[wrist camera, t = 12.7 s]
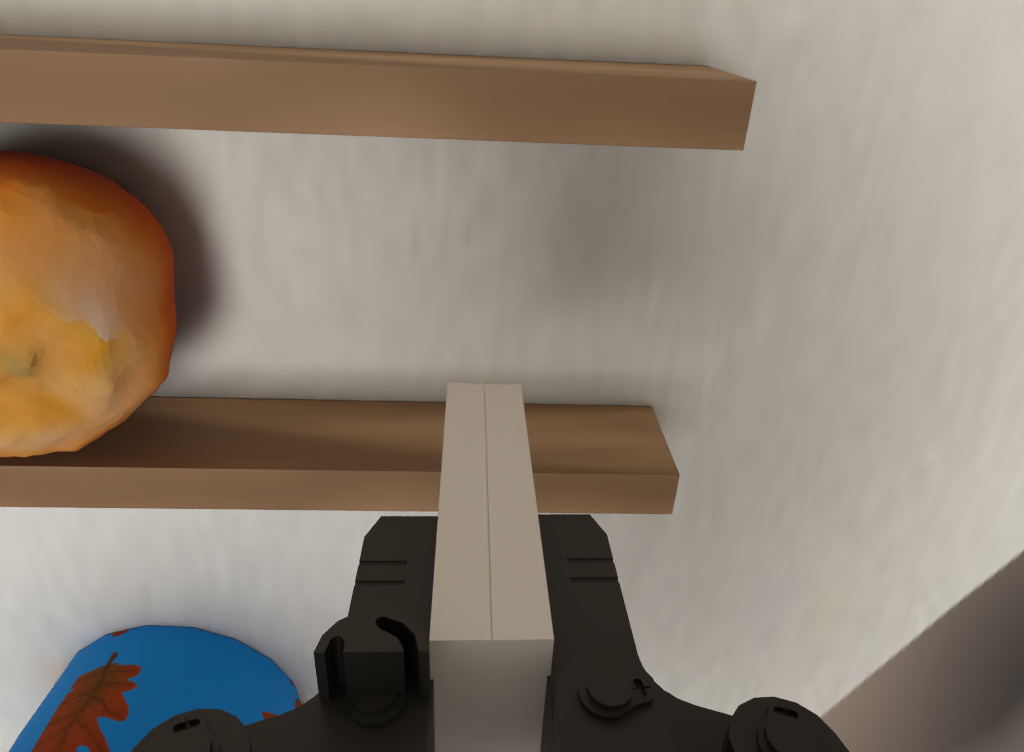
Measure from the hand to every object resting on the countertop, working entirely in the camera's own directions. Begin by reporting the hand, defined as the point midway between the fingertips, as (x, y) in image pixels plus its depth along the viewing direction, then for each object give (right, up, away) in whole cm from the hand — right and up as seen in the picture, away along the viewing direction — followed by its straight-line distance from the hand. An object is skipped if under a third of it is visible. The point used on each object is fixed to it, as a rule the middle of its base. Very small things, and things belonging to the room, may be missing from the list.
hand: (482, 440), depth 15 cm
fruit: (-13, +5, +7) cm, 15 cm away
